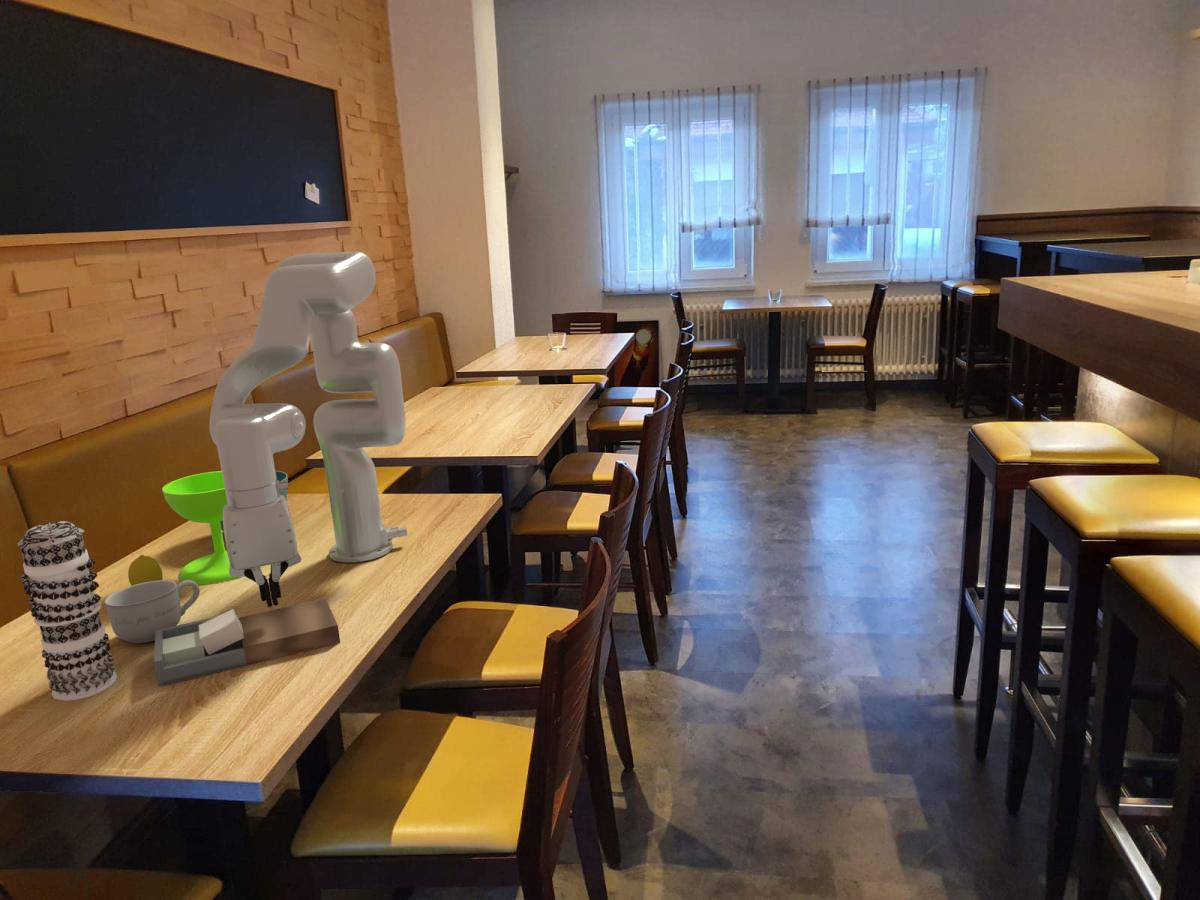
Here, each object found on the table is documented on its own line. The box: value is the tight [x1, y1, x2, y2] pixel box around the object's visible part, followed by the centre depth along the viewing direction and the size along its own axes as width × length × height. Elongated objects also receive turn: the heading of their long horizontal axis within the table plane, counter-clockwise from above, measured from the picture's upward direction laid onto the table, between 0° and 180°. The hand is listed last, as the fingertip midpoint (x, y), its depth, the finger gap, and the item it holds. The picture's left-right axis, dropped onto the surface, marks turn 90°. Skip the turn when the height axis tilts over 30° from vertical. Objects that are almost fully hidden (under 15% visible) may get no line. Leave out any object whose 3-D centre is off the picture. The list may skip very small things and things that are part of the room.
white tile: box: [199, 608, 244, 655], centre depth 134 cm, size 6×6×3 cm
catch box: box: [153, 611, 247, 688], centre depth 133 cm, size 12×12×4 cm
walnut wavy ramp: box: [238, 597, 341, 666], centre depth 139 cm, size 14×12×3 cm
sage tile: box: [163, 631, 206, 666], centre depth 132 cm, size 6×6×3 cm
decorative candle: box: [17, 520, 118, 702], centre depth 124 cm, size 9×9×25 cm
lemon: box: [127, 554, 164, 586], centre depth 159 cm, size 6×6×8 cm
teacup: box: [104, 579, 201, 644], centre depth 143 cm, size 14×11×8 cm
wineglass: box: [161, 470, 263, 585], centre depth 169 cm, size 16×16×18 cm
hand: (272, 603), depth 137 cm, fingers closed
